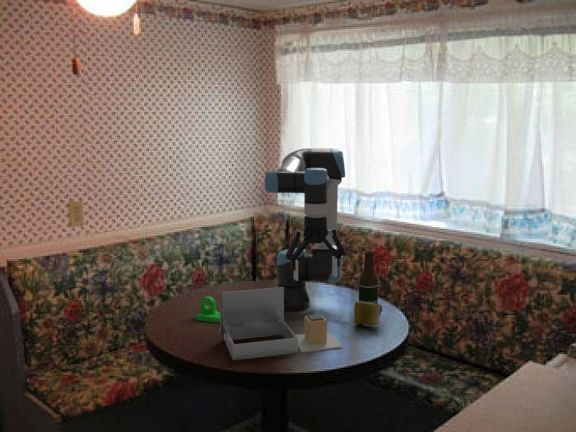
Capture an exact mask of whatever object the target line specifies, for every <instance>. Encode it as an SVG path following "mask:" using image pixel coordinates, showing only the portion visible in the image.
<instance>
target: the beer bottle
mask: <svg viewBox="0 0 576 432" xmlns="http://www.w3.org/2000/svg"><path fill="white" fill-rule="evenodd" d="M374 255H375V253H374V251H372V250H366V251H364V262H363V263H364V266H363V270H362V272H361V274H360V276H359V278H358V302H367V303H373V304H375V303H376V304H379V279H378V276H377V275H376V273H375V270H374V267H375V265H374Z"/></svg>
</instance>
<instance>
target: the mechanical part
mask: <svg viewBox="0 0 576 432" xmlns="http://www.w3.org/2000/svg"><path fill="white" fill-rule="evenodd" d="M207 303H208V304H209V306H208V305H207ZM195 320H196V321H200V322H201V321H202V322H209V323H217V324H219V323H220V324H221V318H220V311H219V312H218V311H217V303H216V300H215V298H213V297H212V296H210V295H208V296H204V298H202V299H201V301H200V312H199V313H198V314H196V315H195Z"/></svg>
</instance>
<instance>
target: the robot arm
mask: <svg viewBox="0 0 576 432" xmlns="http://www.w3.org/2000/svg"><path fill="white" fill-rule="evenodd" d="M264 175H265V176H264V189H265V191H266V192H267V193H271V194H272V193H273V194H303V196H304V200H303V201H304V203H303V204H304V205H303V208H304V209H303V211H304V212H303V213H304V215H305V216H304V217H303V223H304V225H303V231H302V230H297V229H296V230H295V231H294V235H293V239H292V240H291V243H290V245H289V247H288V249H284V250H282V251H280V252H278V254H276V255H277V257H276V280H277V281H276V287H284V312H285V311H287V312H299V311H303V310H307V309H309V308H310V306H311V300H310V296H309V293H308V291H307V290H308V289H307V286H306V285H307V284H306V282H309V283H311V282H312V283H314V282H315V283H338V282H339V281H340V279H341V276H342V270H343V263H344V256H346V251H345V250H344V248H343V246H342V244H341V241H340V240H339V238H338V202H339V201H338V195H339V194H338V191H339V185H340V184H341V183H342V182H343V181H342V179H343V178H346V168H345V159H344V152H343V150H342V149H340V148H331V147H328V148H324V147H323V148H321V147H320V148H319V147H318V148H306V147H305V148H300V149H298V150H294V151H292V152H290V153H287V155H286V156H285V157H284V158H283V159H282V161H281V165H280V167H279V168H278V169H277V170H270V171H269V170H268V171H266V172H265V174H264ZM302 236H303V237H304V239H303V240H302V242H301V243H300V244H299V242H300V238H302ZM298 244H299V246H298V247H297V245H298ZM310 244H311V245H313V246H312V247H311V249H310V251H311V252H307V250H306V248H307V247H308V246H310Z"/></svg>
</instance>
